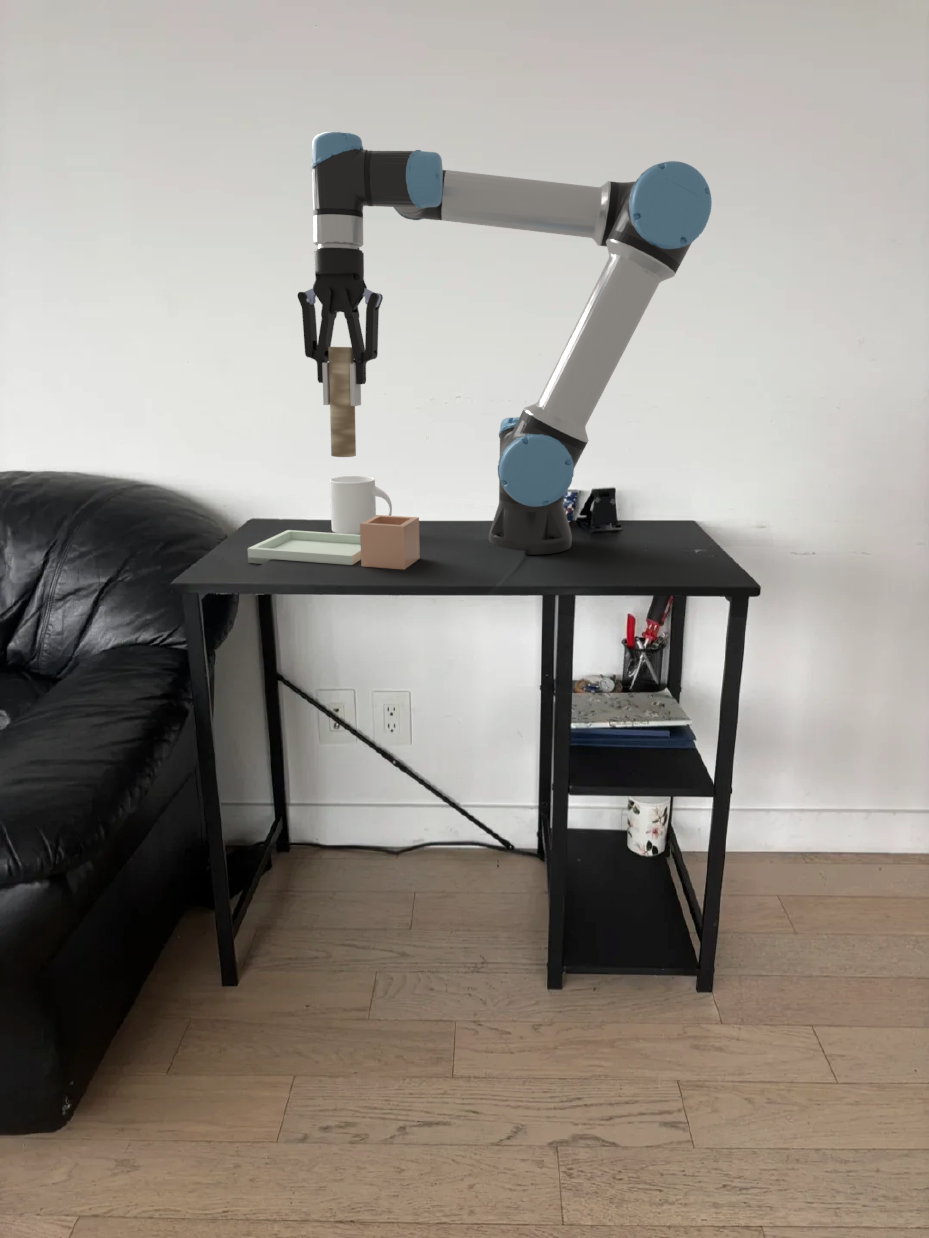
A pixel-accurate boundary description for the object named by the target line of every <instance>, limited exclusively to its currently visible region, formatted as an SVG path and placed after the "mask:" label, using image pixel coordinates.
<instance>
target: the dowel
mask: <svg viewBox="0 0 929 1238" xmlns="http://www.w3.org/2000/svg"><path fill="white" fill-rule="evenodd" d="M328 350H329V361H328V362H329V388H330V405H329V418H330V420H329V422H330V424H329V425H330V452H331V453H330V454H331V455H330V456H331V457H335V458H353V457H356V455H357V450H356V449H357V446H356V444H357V443H356V437H357V436H356V435H357V434H356V406H351V399H350V364H352V363H354V362H353V360H354V356H353V351H352V346H331V347H328Z"/></svg>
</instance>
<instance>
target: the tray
mask: <svg viewBox="0 0 929 1238" xmlns="http://www.w3.org/2000/svg"><path fill="white" fill-rule="evenodd" d="M246 550H247V560H248V561H247V562H248V563H249V564H260V565H263V564H265V563H268V562H269V561H272V560H277V561H293V562H302V563H303V562H306V563H317V564H318V563H319V564H332V565H345V566H353V565H355V564H356V563H359V562H360V561H361V543H360V534H341V533H335V532H322V531H309V530H295V529H294V530H292V529H287V530H285V531H283V532H280V533H278V534H276V535H274V536H271V537H269V538H267V539H265V540H263V541H261V542H258V543H256V544H254V545H252V546H249V547H248V548H247V549H246Z"/></svg>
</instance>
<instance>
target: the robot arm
mask: <svg viewBox="0 0 929 1238" xmlns="http://www.w3.org/2000/svg"><path fill="white" fill-rule="evenodd" d="M311 142H312V143H311V166H310V172H311V184H312V185H311V189H312V190H311V191H312V206H313V207H312V209H313V210H312V211H313V212H312V213H313V216H312V217H313V218H312V219H313V244H314V245H316V246H317V248H316V249H315V250H314V253H313V255H314V275H315V280H314V283H313V285H312V288H309V290H308V289H307V290H305V291H299V292H298V293H297V298H298V299H297V300H298V302H299V304H300V306H301V312H302V313H301V315H302V328H303V341H304V343H303V344H304V355H305V357H307V358H309V359H311V360H314V361H315V362H316V365H317V367H316V370H317V371H316V372H317V381H318V383H319V384H320V383H321V384H322V397H323V400H322V401H323V406H330V388H329V350H328V347H332V346H331V345H332V339H333V333H334V326H335V320H336V319H337V315H338V313H340V312H341V313H343V316H344V318H345V320H346V324H347V329H348V336H349V339H350V345H351V347H352V351H353V356H354V360H353V362H354V363H352V364H350V399H351V406H355V407H358V406H362V389H361V388H362V385H365V384H366V382H367V363H368V362H369V361H372V360H375V359H377V357H378V351H379V350H378V347H379V316H380V315H379V313H380V307H381V305H382V304H381V303H382V302H383V299H384V298H383V295H382V294H381V293H380V292H374V291H372V290H371V289H368V287H367V285H366V283H365V278H364V277H365V276H364V275H365V274H364V273H365V269H364V268H365V267H364V266H365V260H364V259H365V258H364V257H365V256H364V253H365V252H363V250H361V249H360V248H361V247H362V246H363V245H364V207H387V208H388V207H391V208H393V209H394V210H395V212H397V213H398V215H400V216H401V217H402V218H404V219H407V220H412V221H420V220H433V221H444V222H452V223H462V224H470V225H479V226H486V227H487V226H488V227H495V228H504V229H511V230H519V231H528V232H529V231H530V232H538V233H546V234H555V235H564V236H573V237H580V238H588V239H592V240H593V241H594V242H595V243H596V245H597V246H599V247H607V251H608V259H607V261H606V263H605V266H604V267H603V269H602V271H601V273H600V276H599V277H598V280H597V282H596V284H595V286H594V287H593V289H592V292H591V294H590V296H589V297H588V300H587V302H586V303H585V306H584V308H583V310H582V312H581V314H580V316H579V318H578V319H577V322H576V324H575V325H574V328H573V330H572V332H571V334H570V336H569V338H568V340H567V342H566V344H565V346H564V349H563V350H562V352H561V353H560V355H559V356H560V357H559V358H558V360H557V362H556V364H555V366H554V368H553V370H552V372H551V374H550V376H549V378H548V380H547V383H546V384H545V387H544V389H543V390H542V392H541V394H540V396H539V398H538V401H537V402H536V403H534V404H531V405H528V406H526V407H523V410H522V412H521V414H520V416H517V417H516V416H515V417H506V418H503V420H501V422H500V427H499V432H498V438H499V460H498V465H497V475H498V480H499V481H498V484H499V485H498V487H499V488H498V491H499V492H498V506H497V509H496V511H495V514H494V517H493V521H492V524H491V526H490V528H489V529H490V530H489V532H488V541H489V543H490V544H491V545H494V546H496V547H500V548H504V549H510V550H517V551H518V550H519V551H525V552H523V555H531V556H532V555H533V556H534V555H549V554H558V553H561V552H565V551H567V550H569V549H571V547H572V541H573V540H572V539H573V536H572V535H573V534H572V530H571V526H570V523H569V521H568V516H567V513H566V509H565V505H564V495H565V493H566V492H567V491H568V489H569V488H570V486H571V484H572V482H573V478H574V472H575V467H576V466H577V464H578V462H579V460H580V458H581V456H582V455H583V452H584V450H585V448H586V446H587V445H588V442H589V437H588V434H587V430H586V426H587V424H588V422H589V421H590V418H591V416H592V414H593V412H594V410H595V408H596V407H597V405H598V402H599V401H600V399H601V397H602V395H603V393H604V391H605V390H606V387H607V385H608V383H609V381H610V380H611V378H612V375H613V374H614V371H615V370H616V369H617V366H618V364H619V362H620V360H621V358H622V357H623V354H624V352H625V350H626V348H627V347H628V344H629V343H630V341H631V339H632V337H633V335H634V333H635V331H636V329H637V327H638V325H639V323H640V321H641V319H642V317H643V316H644V314H645V312H646V310H647V308H648V306H649V304H650V302H651V300H652V298H653V296H654V294H655V293H656V291H657V289H658V286H659V285H660V284H661V283H662V282H664V281H666V280H669V279H672V278H673V277H675V275H676V274H677V272H678V270H679V268H680V266H681V264H682V262H683V260H684V259H685V256H686V255H687V253H688V251H689V249H690V247H691V245H692V243H693V242H694V241H695V240H696V239H698V238H699V237H700V235H701V234H702V233H703V231H704V230H705V228H706V227H707V224H708V222H709V219H710V215H711V212H712V204H713V203H712V195H711V194H712V193H711V190H710V187H709V184H708V182H707V180H706V178H705V177H704V175H703V174H702V173H701V172H700V171H699V170H698V169H697V168H695V167H694V166H693V165H690V164H688V163H685V162H683V161H676V160H670V161H665V162H660V163H657V164H654V165H652V166H651V167H649V168H647V169H645V170H644V172H642V173H641V174H640V175H639V177H638V178H637V179H636V180H635V181H629V182H628V181H626V182H623V181H622V182H621V181H610V180H607V181H606V182H605V183H604V184H603V185H601V186H600V187H599V186H589V185H582V184H572V183H563V182H556V181H548V180H547V181H546V180H539V179H537V180H536V179H529V178H520V177H511V176H501V175H494V174H485V173H476V172H468V171H458V170H457V171H456V170H450V169H443V160H442V156H441V155H440V153H438V152H434V151H423V150H420V149H415V150H368V149H364V146H363V141H362V138H361V137H360V136H359V135H358V134H355V133H351V132H341V131H326V132H320V133H319V134H316V135H315V136H314V137H313V140H312V141H311ZM316 298H317V299H318V301H319V302H320V303H321V305H322V306H321V311H320V316H321V320H320V327H319V332H318V333H319V334H318V333H317V316H316V315H317V314H316V307H315V303H316ZM363 299H364V303H365V304H366V308H365V309H366V311H365V336H363V332H362V327H361V322H360V312H359V305H360V303H361V302H362V301H363ZM364 337H365V338H364ZM364 339H365V340H364Z"/></svg>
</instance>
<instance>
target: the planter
mask: <svg viewBox="0 0 929 1238" xmlns="http://www.w3.org/2000/svg"><path fill="white" fill-rule="evenodd" d="M359 535H360V543H361V560H360V563H361V564H360V565H361V567H365V568H376V569H377V568H379V569H391V570H406V569H408V568H409V567H410V566H412V564H414V563H416V562H418V560H420V556H421V555H420V517H417V516H402V515H401V516H400V515H398V516H397V515H391V516H388V515H383V514H376V516H374V517H372V518H370V519H368V520H366V521H364V522H362V523H360V534H359Z"/></svg>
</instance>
